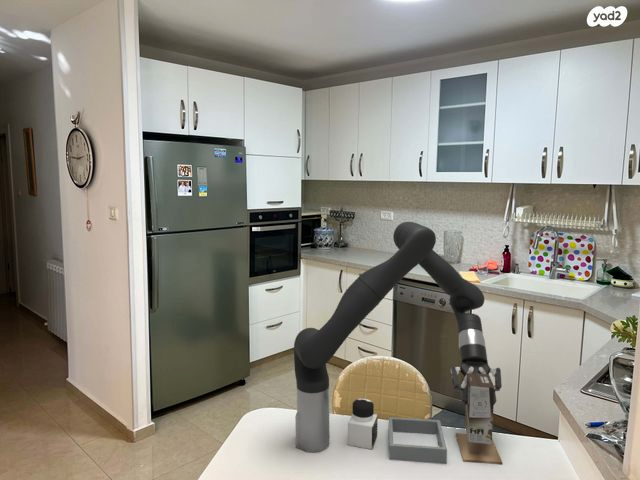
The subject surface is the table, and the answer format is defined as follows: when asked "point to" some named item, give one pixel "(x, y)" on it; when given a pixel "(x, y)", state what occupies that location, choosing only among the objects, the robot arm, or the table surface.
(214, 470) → the table surface
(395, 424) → the bin
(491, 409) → the coffee box
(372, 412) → the medicine bottle
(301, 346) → the robot arm
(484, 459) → the pad
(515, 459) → the table surface
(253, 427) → the table surface
